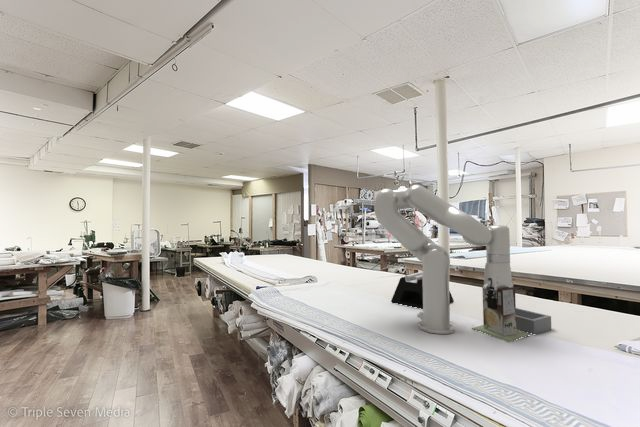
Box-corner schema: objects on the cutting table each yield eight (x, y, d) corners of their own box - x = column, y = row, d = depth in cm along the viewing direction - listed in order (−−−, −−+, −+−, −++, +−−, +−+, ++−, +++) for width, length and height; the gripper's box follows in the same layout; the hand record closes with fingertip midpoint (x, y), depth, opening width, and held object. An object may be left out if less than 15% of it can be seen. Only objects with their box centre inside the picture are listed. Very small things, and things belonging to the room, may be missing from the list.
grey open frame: (495, 323, 121) (494, 308, 121) (512, 319, 127) (511, 304, 127) (534, 334, 109) (533, 318, 109) (551, 329, 114) (550, 313, 114)
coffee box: (517, 334, 108) (516, 288, 108) (504, 336, 106) (503, 290, 106) (495, 325, 116) (494, 283, 117) (482, 327, 114) (481, 284, 115)
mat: (472, 329, 115) (472, 327, 115) (492, 324, 120) (492, 322, 120) (509, 342, 102) (509, 340, 102) (530, 335, 108) (529, 334, 108)
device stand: (391, 303, 154) (390, 273, 154) (412, 295, 170) (412, 268, 170) (434, 312, 138) (433, 279, 138) (453, 302, 154) (453, 273, 154)
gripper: (502, 256, 119) (503, 302, 119) (473, 259, 111) (474, 307, 111) (522, 258, 113) (523, 306, 112) (493, 261, 105) (494, 313, 104)
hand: (499, 306), depth 111 cm, fingers open, 7 cm apart
